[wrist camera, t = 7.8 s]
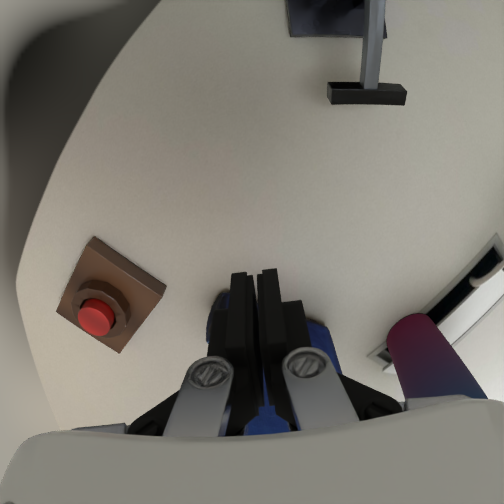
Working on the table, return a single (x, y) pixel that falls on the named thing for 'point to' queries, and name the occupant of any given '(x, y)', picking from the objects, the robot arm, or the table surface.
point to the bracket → (327, 18)
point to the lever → (369, 67)
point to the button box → (111, 292)
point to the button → (96, 317)
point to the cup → (428, 361)
